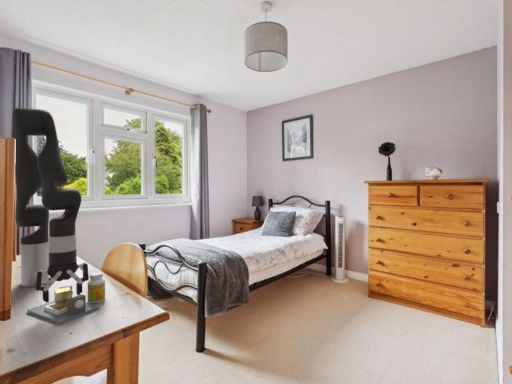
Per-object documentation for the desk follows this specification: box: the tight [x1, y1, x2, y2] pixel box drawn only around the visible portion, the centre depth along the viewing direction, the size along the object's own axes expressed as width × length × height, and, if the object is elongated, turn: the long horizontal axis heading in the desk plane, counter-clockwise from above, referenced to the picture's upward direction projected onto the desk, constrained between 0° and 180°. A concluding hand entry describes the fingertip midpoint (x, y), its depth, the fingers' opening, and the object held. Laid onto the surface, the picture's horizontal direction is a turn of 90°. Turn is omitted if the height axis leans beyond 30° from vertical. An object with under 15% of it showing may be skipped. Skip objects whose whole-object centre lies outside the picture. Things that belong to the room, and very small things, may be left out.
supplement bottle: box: [87, 271, 106, 304], centre depth 99 cm, size 5×5×10 cm
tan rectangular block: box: [53, 287, 73, 310], centre depth 90 cm, size 4×4×6 cm
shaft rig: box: [26, 285, 99, 326], centre depth 90 cm, size 18×12×6 cm, turn 64°
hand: (63, 298), depth 90 cm, fingers open, 8 cm apart
